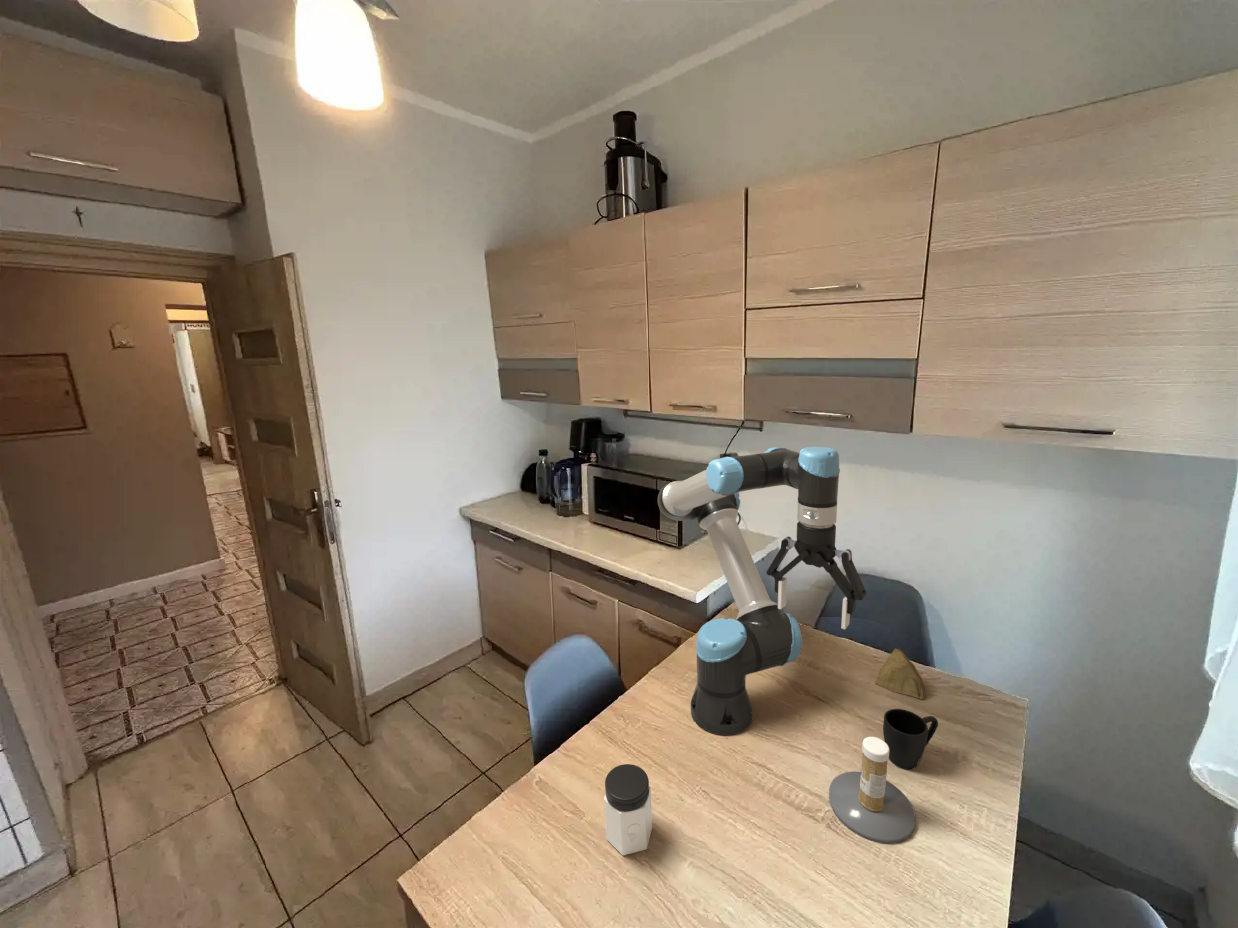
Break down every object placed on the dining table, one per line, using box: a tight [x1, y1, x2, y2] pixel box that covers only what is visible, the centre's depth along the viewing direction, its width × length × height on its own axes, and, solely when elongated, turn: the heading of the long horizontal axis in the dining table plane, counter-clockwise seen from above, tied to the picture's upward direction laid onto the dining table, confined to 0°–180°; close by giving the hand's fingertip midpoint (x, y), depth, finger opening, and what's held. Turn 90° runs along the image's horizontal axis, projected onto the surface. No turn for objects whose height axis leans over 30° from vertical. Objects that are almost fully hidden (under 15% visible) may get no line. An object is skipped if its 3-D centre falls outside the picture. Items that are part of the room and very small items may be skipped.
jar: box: [603, 763, 653, 856], centre depth 94 cm, size 9×8×12 cm
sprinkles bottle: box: [858, 736, 889, 812], centre depth 97 cm, size 5×5×13 cm
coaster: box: [828, 770, 916, 844], centre depth 99 cm, size 15×15×1 cm
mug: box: [882, 708, 939, 771], centre depth 109 cm, size 8×12×10 cm
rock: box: [874, 648, 927, 700], centre depth 130 cm, size 11×9×10 cm
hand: (812, 616), depth 109 cm, fingers open, 13 cm apart
